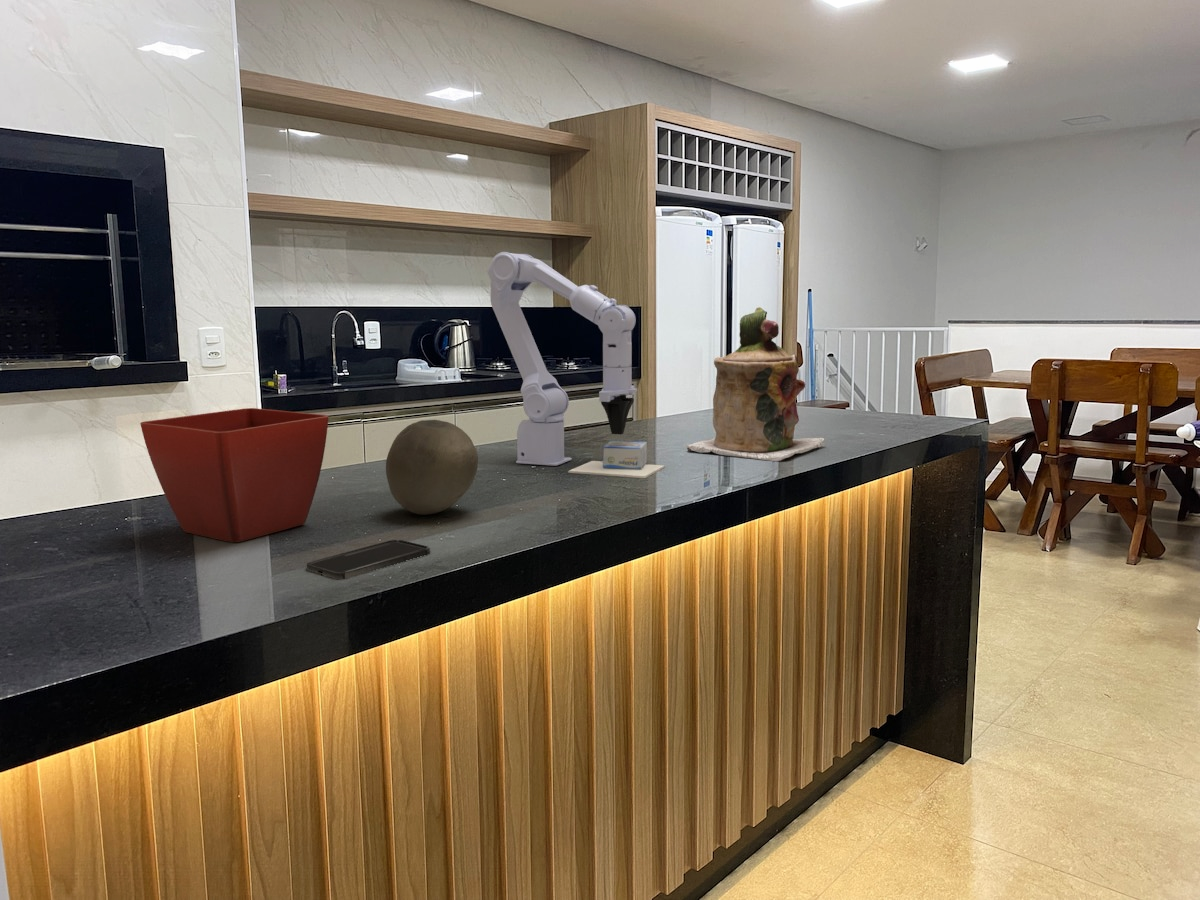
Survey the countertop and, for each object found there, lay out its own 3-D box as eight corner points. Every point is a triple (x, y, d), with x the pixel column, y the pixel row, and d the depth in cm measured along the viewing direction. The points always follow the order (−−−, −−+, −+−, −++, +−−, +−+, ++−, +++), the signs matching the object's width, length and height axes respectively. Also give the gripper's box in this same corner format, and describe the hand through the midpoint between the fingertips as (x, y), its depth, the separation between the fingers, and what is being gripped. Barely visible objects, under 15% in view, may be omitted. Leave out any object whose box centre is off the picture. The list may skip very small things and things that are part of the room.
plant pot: (229, 553, 122) (219, 430, 119) (146, 535, 132) (136, 421, 129) (338, 523, 138) (332, 414, 135) (257, 509, 148) (250, 407, 145)
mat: (568, 472, 178) (568, 470, 177) (592, 462, 188) (592, 460, 188) (644, 478, 171) (644, 476, 171) (664, 467, 182) (664, 465, 182)
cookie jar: (681, 452, 201) (682, 307, 196) (731, 438, 221) (733, 306, 216) (784, 463, 187) (789, 307, 182) (827, 447, 207) (832, 306, 202)
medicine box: (647, 441, 186) (641, 447, 177) (647, 462, 186) (641, 469, 178) (609, 440, 187) (602, 446, 179) (609, 461, 188) (602, 468, 179)
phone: (433, 547, 121) (340, 574, 110) (433, 555, 121) (340, 583, 110) (395, 538, 126) (302, 563, 114) (395, 546, 126) (302, 571, 115)
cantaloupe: (402, 528, 135) (397, 429, 132) (379, 509, 147) (374, 418, 145) (490, 517, 141) (488, 422, 139) (461, 500, 154) (458, 413, 151)
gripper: (623, 369, 171) (623, 439, 174) (648, 364, 185) (648, 429, 187) (589, 368, 174) (589, 438, 176) (616, 363, 187) (616, 428, 190)
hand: (617, 433), depth 182 cm, fingers closed
